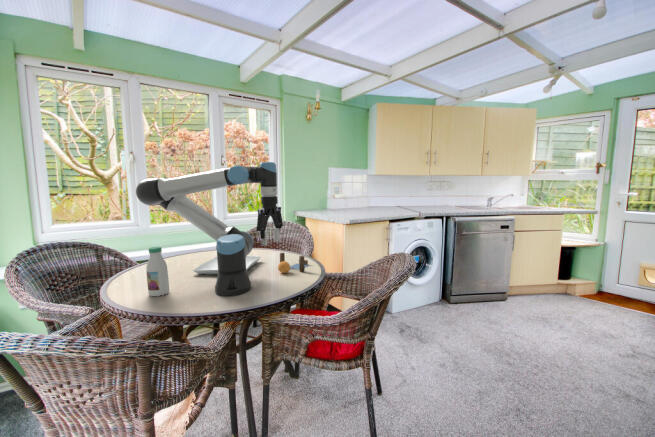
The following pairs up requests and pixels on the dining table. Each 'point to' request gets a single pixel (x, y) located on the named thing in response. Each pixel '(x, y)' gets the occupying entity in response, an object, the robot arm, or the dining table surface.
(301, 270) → the post right
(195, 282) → the dining table surface
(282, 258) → the post left
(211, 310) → the dining table surface
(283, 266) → the ball
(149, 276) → the milk bottle
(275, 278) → the dining table surface
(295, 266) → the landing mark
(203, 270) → the square plate
